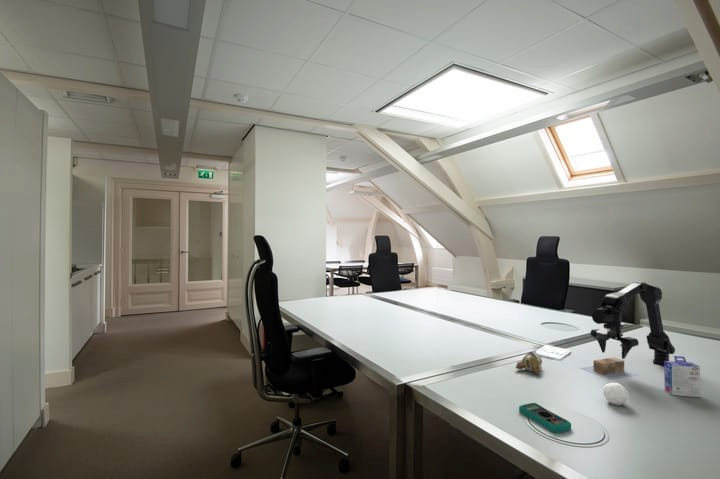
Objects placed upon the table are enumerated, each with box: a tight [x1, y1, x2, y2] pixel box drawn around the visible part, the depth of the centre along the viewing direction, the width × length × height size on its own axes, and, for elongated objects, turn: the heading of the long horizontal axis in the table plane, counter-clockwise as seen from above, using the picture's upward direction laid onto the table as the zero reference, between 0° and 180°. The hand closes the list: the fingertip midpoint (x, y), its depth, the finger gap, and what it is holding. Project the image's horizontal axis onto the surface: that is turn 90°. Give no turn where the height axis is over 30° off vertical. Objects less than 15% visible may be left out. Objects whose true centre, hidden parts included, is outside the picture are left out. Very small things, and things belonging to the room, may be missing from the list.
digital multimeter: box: [518, 402, 572, 434], centre depth 118 cm, size 8×15×3 cm, turn 20°
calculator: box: [535, 344, 572, 361], centre depth 188 cm, size 13×20×2 cm, turn 134°
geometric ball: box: [602, 382, 630, 406], centre depth 131 cm, size 8×8×8 cm
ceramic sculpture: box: [515, 350, 543, 374], centre depth 164 cm, size 11×9×15 cm
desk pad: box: [580, 365, 638, 381], centre depth 162 cm, size 18×14×1 cm
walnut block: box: [593, 357, 625, 375], centre depth 162 cm, size 5×5×13 cm
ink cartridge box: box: [663, 355, 701, 398], centre depth 140 cm, size 10×6×14 cm, turn 78°
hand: (613, 355), depth 163 cm, fingers open, 9 cm apart
